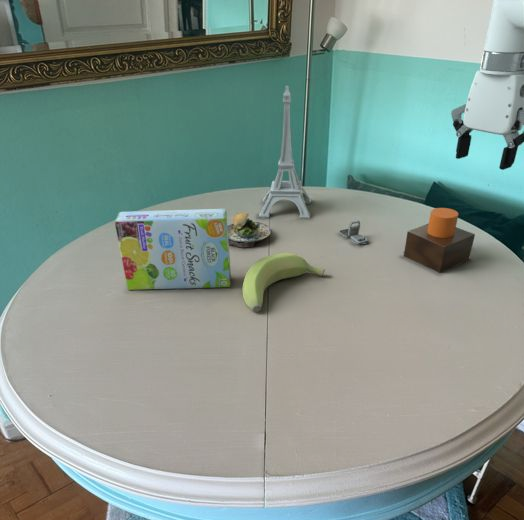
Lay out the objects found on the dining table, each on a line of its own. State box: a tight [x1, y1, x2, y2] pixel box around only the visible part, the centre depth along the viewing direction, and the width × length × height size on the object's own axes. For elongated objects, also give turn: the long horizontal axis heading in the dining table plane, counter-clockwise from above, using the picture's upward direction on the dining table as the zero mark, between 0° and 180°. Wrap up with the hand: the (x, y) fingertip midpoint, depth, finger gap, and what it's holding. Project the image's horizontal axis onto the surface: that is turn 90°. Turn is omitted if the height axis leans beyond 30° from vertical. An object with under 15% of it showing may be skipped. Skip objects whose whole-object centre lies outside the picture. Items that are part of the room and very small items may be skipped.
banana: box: [242, 252, 326, 313], centre depth 105 cm, size 14×6×20 cm
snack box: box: [114, 208, 232, 291], centre depth 104 cm, size 21×6×15 cm, turn 91°
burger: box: [227, 212, 272, 249], centre depth 124 cm, size 12×12×8 cm
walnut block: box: [403, 222, 476, 273], centre depth 114 cm, size 10×10×6 cm
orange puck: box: [427, 207, 459, 238], centre depth 111 cm, size 6×6×4 cm
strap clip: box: [339, 220, 369, 246], centre depth 123 cm, size 8×3×4 cm, turn 26°
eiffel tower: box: [258, 85, 312, 220], centre depth 132 cm, size 13×13×30 cm
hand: (482, 162), depth 101 cm, fingers open, 9 cm apart
